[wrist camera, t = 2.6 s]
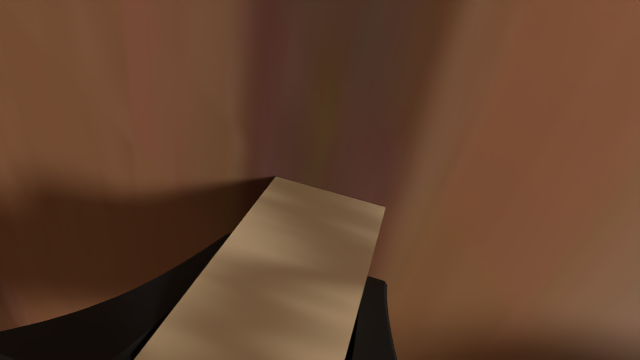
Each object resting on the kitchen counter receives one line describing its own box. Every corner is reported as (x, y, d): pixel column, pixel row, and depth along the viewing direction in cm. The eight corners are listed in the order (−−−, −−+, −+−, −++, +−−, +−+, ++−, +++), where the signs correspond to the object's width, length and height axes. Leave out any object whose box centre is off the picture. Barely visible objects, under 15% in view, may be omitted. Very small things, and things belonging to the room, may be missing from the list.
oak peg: (385, 207, 15) (324, 433, 8) (361, 290, 17) (297, 526, 10) (275, 176, 15) (132, 360, 9) (266, 260, 17) (144, 463, 11)
